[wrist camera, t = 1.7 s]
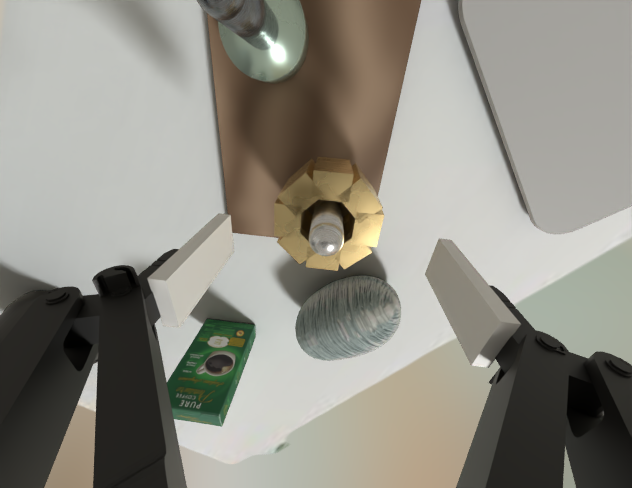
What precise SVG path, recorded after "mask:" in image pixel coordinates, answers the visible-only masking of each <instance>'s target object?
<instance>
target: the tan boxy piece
mask: <svg viewBox="0 0 632 488" xmlns="http://www.w3.org/2000/svg"><path fill="white" fill-rule="evenodd" d="M317 200H328V201H338V202H342V203H343V204H344V205H345V207H346V208H347V209H348V210H349V213H348V214H347V215H345V216H344V217H343V231H344V243H343V246H342V248H341V249H340V250H339V251H338V252H337V253H336V254H334V255H332V256H321V255H318V254H317V253H315V252H314V251H313V250H312V248H311V246H310V244H309V233H310V228H311V223H312V217H313V215H312V214H311V213H310V212H309V211H308V210H307V208H308V207H310V206H311V205H312V204H313V203H315V202H316V201H317ZM382 208H383V207H382V205H381V203H380V201H379V199H378V197H377V194H376V192H375V190H374V188H373V186H372V185H371V184H370V182H369V181H368V180H367V178H366V177H365V175H364V174H363V173H362V171H361V170H360V169H359V167H358V166H357V165H356V163H355V164H354V165H352V166H351V163H350V160H347V159H337V158H328V157H318V158H317V161H316V163H315V162H314V161H313V160H312V159H311V160H309V161H308V162H307V163H306V164H305V165H304V166H303V167H301V168H300V169H299V170H298V171H297V172H296V173H295V174H293V175H292V176H291V177H290V178H289V179H288V181H287V182H286V184H285V185H284V187H283V189H282V190H281V192H280V193H279V195H278V198H277V200H276V202H275V203H274V236H279V239H278V241H277V243H279V244H280V245H281V246H282V247H283V248H284V249H285V250H286V251H287V252H288V253H289V254H290V255H291V256H292V257H293V258H294V259H295V260H296V261H297V262H298V263H299V264H301V263H303V262H304V261H305V260H306V267H308V268H317V269H326V270H335V271H338V267H339V264H340V265H341V266H342V267H343V268H344V269H346V268H348V267H349V266H351V265H353V264H354V263H356V262H357V261H359V260H361V259H362V258H364V257H366V256H367V255H369V254H370V253H372V250H371V247H376V246H377V242H378V238H379V234H380V230H381V226H382V222H383V218H384V214H383V211H382Z"/></svg>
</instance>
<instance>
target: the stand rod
mask: <svg viewBox="0 0 632 488" xmlns="http://www.w3.org/2000/svg"><path fill="white" fill-rule="evenodd" d="M307 210H308V211H309V212H310V213H311V214H312V215H313V217H312V223H311V228H310V233H309V244H310V246H311V248H312V250H313V251H314V252H315V253H317V254H318V255H321V256H332V255H334V254H336V253H337V252H338V251H339V250H340V249H341V248H342V246H343V243H344V231H343V217H344V216H345V215H347V214H348V213H349V210H348V209H347V208H346V207H345V205H344V204H343V203H342V202H338V201H328V200H317V201H316V202H315V203H313V204H312V205H311V206H310V207H308V208H307Z"/></svg>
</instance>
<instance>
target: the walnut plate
mask: <svg viewBox="0 0 632 488" xmlns="http://www.w3.org/2000/svg"><path fill="white" fill-rule="evenodd" d="M299 1H300V3H301V6H302V9H303V12H304V15H305V18H306V22H307V26H308V33H309V44H308V51H307V55H306V58H305V61H304V63H303V65H302V67H301V68H300V70H299V71H298V72H297V74H295V75H294V76H293V77H292V78H291V79H289V80H287V81H285V82H282V83H277V84H271V83H266V82H263V81H260V80H257V79H254V78H251V77H249V76H247V75H246V74H244V73H243V72H242V71H240V70H239V69H238V68H237V67H236V66H235V65H234V63H233V62H232V61H231V59H230V58H229V56H228V55H227V53H226V51H225V49H224V46H223V44H222V41H221V37H220V33H219V27H218V21H217V20H216V19H214V18H213V17H212V16H210V15H209V14H208V13H207V18H208V28H209V37H210V47H211V57H212V66H213V76H214V86H215V95H216V105H217V114H218V124H219V134H220V143H221V153H222V162H223V172H224V182H225V191H226V201H227V211H228V215H231V225H232V233H240V234H249V235H258V236H267V237H276V238H279V236H274V203H275V202H276V200H277V198H278V195H279V193H280V192H281V190H282V189H283V187H284V185H285V184H286V182H287V181H288V179H289V178H290V177H291V176H292V175H293V174H295V173H296V172H297V171H298V170H299V169H300V168H301V167H303V166H304V165H305V164H306V163H307V162H308V161H309V160H311V159H312V160H313V161H314V162H315V163H316V161H317V158H318V157H328V158H337V159H347V160H350V163H351V166H352V165H354V164H355V163H356V165H357V166H358V167H359V169H360V170H361V171H362V173H363V174H364V175H365V177H366V178H367V180H368V181H369V182H370V184H371V185H372V186H373V188H374V190H375V192H376V194H377V197H378V192H379V188H380V183H381V179H382V174H383V170H384V165H385V161H386V156H387V152H388V147H389V143H390V138H391V134H392V129H393V125H394V120H395V116H396V111H397V107H398V102H399V98H400V93H401V89H402V84H403V80H404V75H405V71H406V66H407V62H408V57H409V53H410V48H411V44H412V39H413V35H414V30H415V26H416V21H417V17H418V13H419V8H420V4H421V0H299Z"/></svg>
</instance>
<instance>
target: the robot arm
mask: <svg viewBox="0 0 632 488" xmlns="http://www.w3.org/2000/svg"><path fill="white" fill-rule="evenodd" d="M233 252H234V245H233V235H232V225H231V215H228V214H217V215H216V216H215V217H214V218H213V219H212V220H211V221H210V222H209V223H208V224H206V225H205V226H204V227H203V228H202V229H201V230H200V231H199V232H198V233H197V234H196V235H194V236H193V237H192V238H191V239H190V240H189V241H188V242H187V243H186V244H185V245H183V246H182V247H181V248H180V249H173V250H170V251H168V252H166V253H164V254H163V255H162V256H161V257H160V258H158V259H157V261H155V262H154V263H153V264H152V265H151V266H149V267H148V268H147V269H146V270H144V271H143V272H142V273H141V274H140V275H139V276H137V275H136V272H135V270H134V268H133V267H131V266H125V265H121V266H114V267H111V268H108V269H105V270H103V271H101V272H99V273H98V274H97V275H96V276H94V278H93V280H92V281H93V283H94V285H95V287H96V289H97V291H98V293H99V294H97V295H86V296H83V295H82V294H81V292H80V290H79V289H78V288H76V287H62V288H57V289H54V290H51V291H32V292H29V293H27V294H25V295H24V296H22V297H20V298H19V299H17V300H15V301H14V302H12V303H11V304H10V305H8V306H7V307H6V309H5V310H4V312H3V313H2V314H1V315H0V488H44V486H45V484H46V482H47V479H48V477H49V474H50V471H51V469H52V466H53V464H54V461H55V459H56V456H57V454H58V451H59V449H60V446H61V444H62V441H63V439H64V436H65V434H66V431H67V429H68V426H69V424H70V421H71V418H72V416H73V413H74V411H75V408H76V406H77V403H78V401H79V398H80V396H81V393H82V391H83V388H84V386H85V383H86V381H87V378H88V376H89V373H90V371H91V368H92V366H93V364H94V363H96V362H98V372H97V399H96V427H95V455H94V481H93V488H187V486H186V481H185V476H184V470H183V465H182V460H181V455H180V450H179V445H178V439H177V434H176V429H175V424H174V419H173V413H172V408H171V403H170V398H169V393H168V387H167V382H166V377H165V372H164V367H163V362H162V356H161V351H160V346H159V341H158V336H157V330H156V327H155V323H156V321H157V320H158V319H159V318H161V321H162V324H163V326H167V327H174V328H180V327H181V326H182V324H183V323H184V321H185V320H186V319H187V317H188V316H189V314H190V313H191V312H192V310H193V309H194V307H195V306H196V305H197V303H198V302H199V300H200V299H201V298H202V296H203V295H204V293H205V292H206V290H207V289H208V288H209V286H210V285H211V283H212V282H213V281H214V279H215V278H216V276H217V275H218V274H219V272H220V271H221V269H222V268H223V267H224V265H225V264H226V262H227V261H228V259H229V258H230V257H231V255H232V254H233ZM425 275H426V277H427V279H428V281H429V283H430V285H431V287H432V289H433V291H434V293H435V295H436V297H437V299H438V301H439V303H440V305H441V307H442V309H443V311H444V313H445V315H446V317H447V319H448V320H449V322H450V324H451V326H452V328H453V330H454V332H455V334H456V336H457V338H458V340H459V342H460V344H461V346H462V348H463V350H464V352H465V354H466V356H467V358H468V360H469V362H470V364H471V365H472V366H480V367H488V368H489V367H490V365H491V364H492V363H493V361H494V360H495V359H496V360H497V362H498V363H499V365H500V368H499V370H498V371H497V372H496V374H495V375H494V376H493V377H492V379H491V380H490V381H489V383H490V384H492V383H493V384H492V387H491V390H490V392H489V396H488V398H487V401H486V404H485V407H484V410H483V412H482V415H481V418H480V421H479V424H478V427H477V430H476V432H475V435H474V438H473V441H472V444H471V447H470V449H469V452H468V455H467V458H466V461H465V464H464V467H463V469H462V472H461V475H460V478H459V481H458V484H457V487H456V488H563V473H564V472H563V471H564V452H565V446H566V450H567V454H568V457H569V461H570V465H571V469H572V473H573V477H574V481H575V484H576V488H632V366H631V365H630V364H629V363H627V362H626V361H624V360H622V359H621V358H618V357H616V356H614V355H612V354H608V353H605V352H595V353H594V354H593V355H592V356H591V357H590V358H589V359H588V358H585V357H582V356H579V355H576V354H573V353H570V352H569V351H568V350H567V349H566V347H565V346H564V345H563V344H562V343H561V342H559V341H558V340H557V339H555V338H554V337H552V336H550V335H548V334H546V333H543V332H540V331H536V330H535V329H534V328H533V327H532V326H531V325H530V324H529V322H528V321H527V320H526V319H525V318H524V317H523V315H522V314H521V313H520V312H519V311H518V310H517V309H515V306H514V305H513V304H512V303H510V300H509V299H508V298H507V297H506V296H505V295H504V294H503V293H502V292H501V291H499V290H498V289H497V288H495V287H494V286H489V285H488V284H487V282H486V281H485V280H484V279H483V278H482V276H481V275H480V274H479V273H478V272H477V270H476V269H475V268H474V267H473V265H472V264H471V263H470V262H469V261H468V259H467V258H466V257H465V256H464V255H463V253H462V252H461V251H460V250H459V249H458V247H457V246H456V245H455V244H454V243H453V241H452V240H447V239H439V240H438V242H437V245H436V247H435V250H434V252H433V255H432V257H431V260H430V263H429V265H428V268H427V270H426V273H425Z"/></svg>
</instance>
